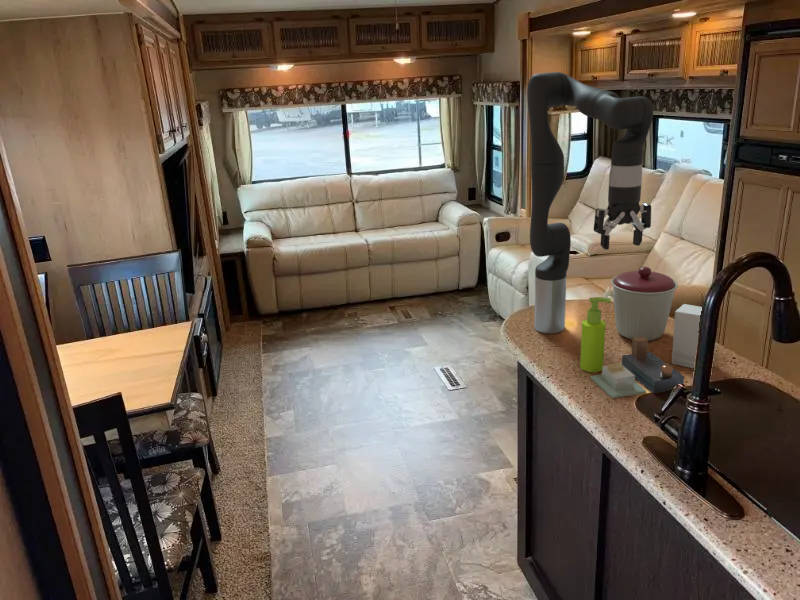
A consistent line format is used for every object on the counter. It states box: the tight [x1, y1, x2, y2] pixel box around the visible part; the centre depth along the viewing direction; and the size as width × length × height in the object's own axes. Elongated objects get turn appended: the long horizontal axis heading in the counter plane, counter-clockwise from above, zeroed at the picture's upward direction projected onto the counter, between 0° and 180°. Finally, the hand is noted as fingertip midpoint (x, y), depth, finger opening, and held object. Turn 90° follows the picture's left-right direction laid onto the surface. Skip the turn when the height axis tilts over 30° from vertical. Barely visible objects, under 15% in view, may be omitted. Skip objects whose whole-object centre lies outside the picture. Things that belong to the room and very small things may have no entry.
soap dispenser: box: [579, 296, 612, 373], centre depth 162 cm, size 6×7×20 cm
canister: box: [610, 266, 679, 341], centre depth 179 cm, size 18×18×21 cm
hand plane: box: [621, 336, 685, 395], centre depth 157 cm, size 15×8×8 cm, turn 11°
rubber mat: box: [590, 373, 647, 399], centre depth 156 cm, size 11×9×1 cm
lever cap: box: [601, 362, 636, 391], centre depth 155 cm, size 7×5×4 cm
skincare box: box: [671, 303, 703, 369], centre depth 161 cm, size 8×7×16 cm
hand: (620, 246), depth 155 cm, fingers open, 8 cm apart
